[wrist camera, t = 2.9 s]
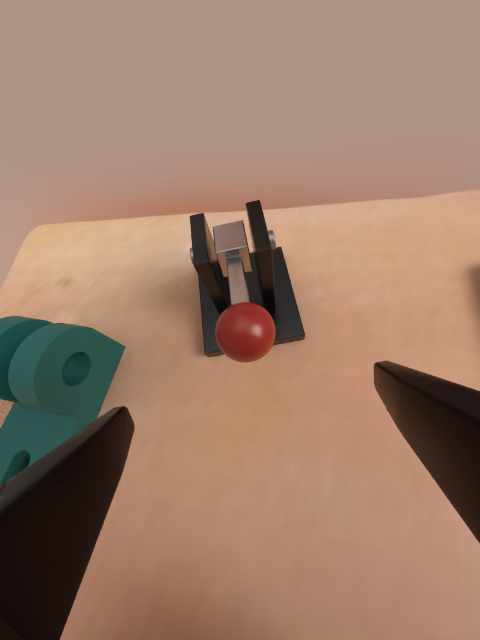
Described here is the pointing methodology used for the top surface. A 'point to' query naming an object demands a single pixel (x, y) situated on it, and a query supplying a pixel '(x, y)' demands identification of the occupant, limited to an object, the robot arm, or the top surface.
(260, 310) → the lever
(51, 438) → the bracket
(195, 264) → the bracket
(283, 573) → the top surface
